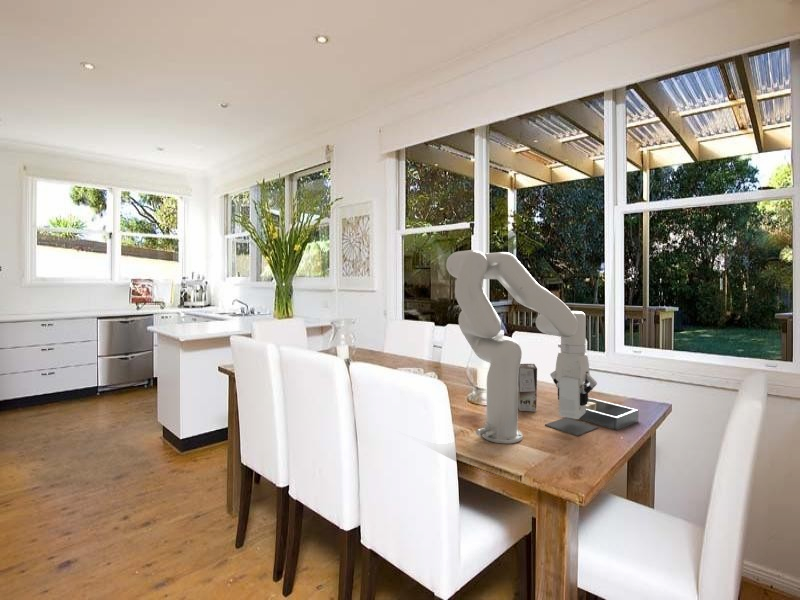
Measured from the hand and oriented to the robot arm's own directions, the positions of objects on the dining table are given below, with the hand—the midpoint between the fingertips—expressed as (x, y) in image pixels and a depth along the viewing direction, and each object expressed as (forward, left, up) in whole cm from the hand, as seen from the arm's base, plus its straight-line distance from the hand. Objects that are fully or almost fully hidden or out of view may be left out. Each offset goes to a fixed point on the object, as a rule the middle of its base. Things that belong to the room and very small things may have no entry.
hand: (572, 401), depth 146 cm
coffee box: (+5, +22, -9) cm, 24 cm away
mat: (0, 0, -8) cm, 8 cm away
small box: (0, 0, -5) cm, 5 cm away
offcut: (+16, +4, -9) cm, 18 cm away
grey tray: (+16, -1, -8) cm, 18 cm away
